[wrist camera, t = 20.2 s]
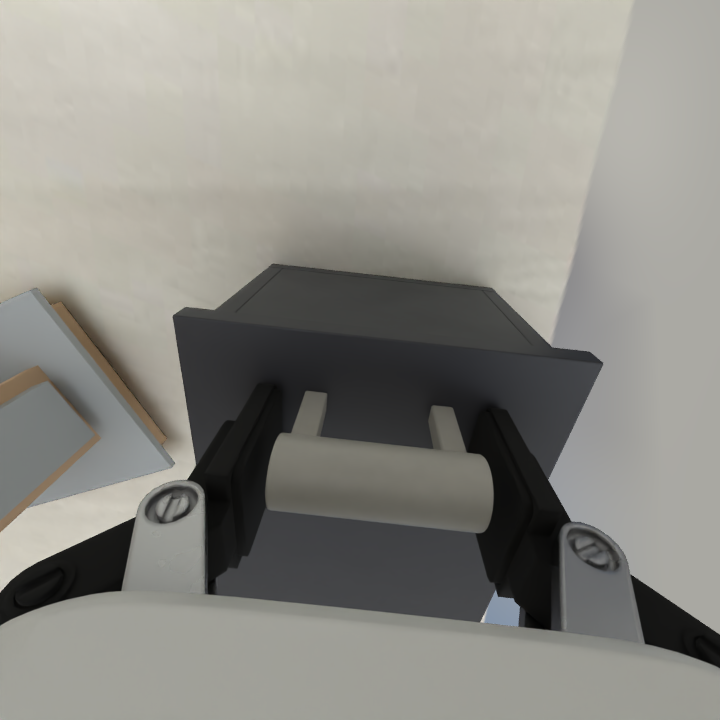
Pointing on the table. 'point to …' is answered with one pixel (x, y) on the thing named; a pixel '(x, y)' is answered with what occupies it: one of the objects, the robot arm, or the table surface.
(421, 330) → the dark grey hollow box
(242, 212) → the table surface
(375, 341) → the lid
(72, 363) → the desk lamp
